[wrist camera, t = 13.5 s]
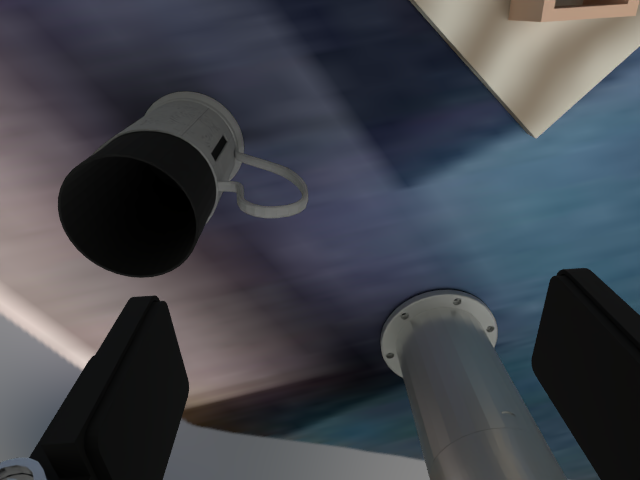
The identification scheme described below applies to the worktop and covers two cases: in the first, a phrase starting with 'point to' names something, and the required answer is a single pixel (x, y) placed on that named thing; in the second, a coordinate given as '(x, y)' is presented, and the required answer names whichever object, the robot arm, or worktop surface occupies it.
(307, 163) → the worktop surface
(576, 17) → the collar
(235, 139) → the glass holder
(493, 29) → the base
